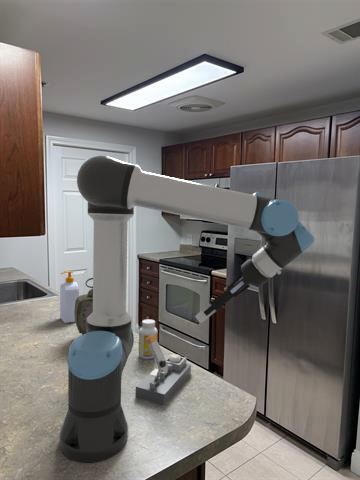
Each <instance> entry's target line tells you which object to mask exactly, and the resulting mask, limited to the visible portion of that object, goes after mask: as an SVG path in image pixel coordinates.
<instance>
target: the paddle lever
mask: <svg viewBox="0 0 360 480" xmlns="http://www.w3.org/2000/svg"><path fill="white" fill-rule="evenodd" d="M145 342H146V344H147V345H148V346H149V348H150V350H151V352H152V355H153V357H154V358H153V359H154V361H155V364H156V366H157V367H158V368H159V367H160V365H159V362H160V361H161V360H165V361H166V357H165V355H164V353H163V351H162V349H161V346H160V344H159V342H158V335H157V336H156V334H153V335H151V336H149V337H148V338H147V339H145ZM169 371H170V367H169V366H168V364H167V362H166V366H165V367H163V369H162V371H161V372H165V375H166V374H167V373H168V372H169Z"/></svg>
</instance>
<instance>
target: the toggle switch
mask: <svg viewBox="0 0 360 480" xmlns="http://www.w3.org/2000/svg"><path fill="white" fill-rule="evenodd" d="M159 365H160V367H159V370H158V372H157V375H156V377H155V380H154V383H155V385H156V384H157V383H158V378H159V376H160V373H161V371H162V369H163V367H165V366H166V361H165V360H161V361H160V362H159Z"/></svg>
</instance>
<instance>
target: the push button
mask: <svg viewBox="0 0 360 480" xmlns="http://www.w3.org/2000/svg"><path fill="white" fill-rule="evenodd" d="M169 355H170V354H169ZM169 355H168V356H169ZM181 357H182V355H180V354H176V353H172V354H171V355H170V356H169V362H174V363H179V362H180V359H181Z"/></svg>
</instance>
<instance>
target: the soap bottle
mask: <svg viewBox="0 0 360 480" xmlns="http://www.w3.org/2000/svg"><path fill="white" fill-rule="evenodd" d="M66 273H67V277H65V282H62V283H61V285H60V289H59V290H60V291H59V294H60V295H59V296H60V297H59V299H60V300H59V304H60V306H59V307H60V308H59V310H60V311H59V315H60V316H59V318H60V320H61V321H62V322H63V323H64V324H68V323H70V322H71V323H75V315H74V310H75V302H76V299H77V297H78V296H80V289H79V285H78V282H76V281H74V279H75V278H74V277H73V276H72V274H74V272H73V271H71V270H70V271H69V270H67V271H63V272H61V273H60V274H61V275H63V274H66Z"/></svg>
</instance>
